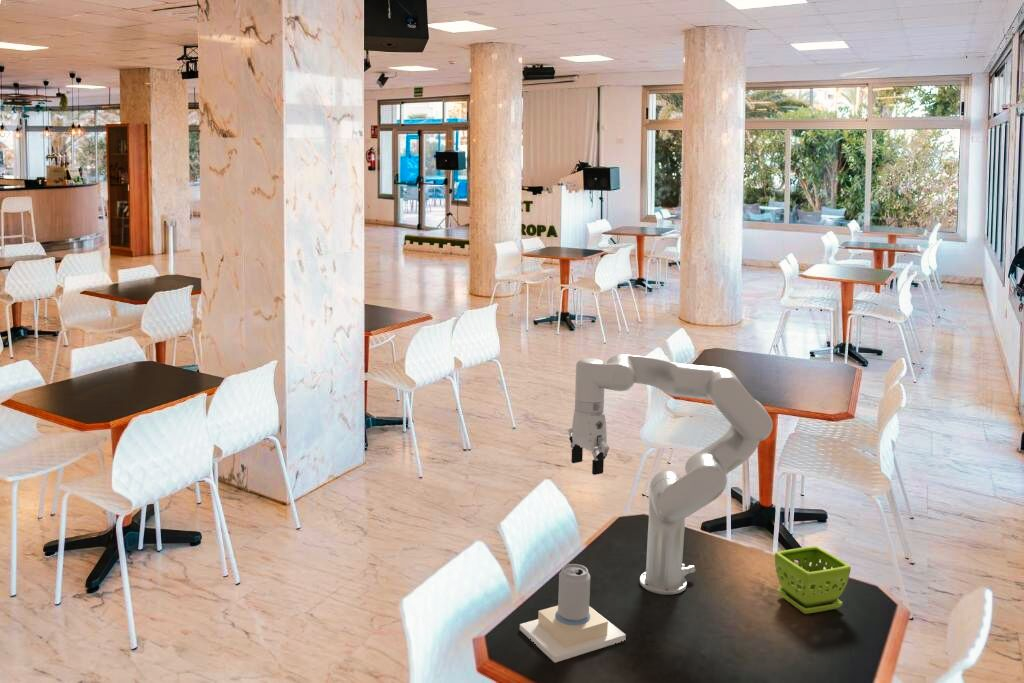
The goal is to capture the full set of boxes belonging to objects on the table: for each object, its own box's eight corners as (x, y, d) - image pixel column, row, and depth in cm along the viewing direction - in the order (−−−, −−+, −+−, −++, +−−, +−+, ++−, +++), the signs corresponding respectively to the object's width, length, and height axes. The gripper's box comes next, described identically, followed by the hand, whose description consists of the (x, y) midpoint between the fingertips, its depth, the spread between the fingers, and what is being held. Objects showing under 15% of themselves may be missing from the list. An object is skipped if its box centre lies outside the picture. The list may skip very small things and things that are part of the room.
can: (586, 625, 206) (588, 578, 203) (555, 620, 207) (556, 574, 205) (590, 609, 213) (592, 563, 210) (560, 605, 214) (561, 560, 212)
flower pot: (848, 612, 224) (853, 566, 221) (803, 621, 219) (807, 574, 216) (812, 587, 237) (816, 543, 234) (769, 595, 232) (773, 550, 229)
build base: (587, 610, 223) (588, 591, 221) (625, 640, 209) (626, 620, 208) (519, 629, 213) (520, 610, 212) (554, 662, 199) (555, 642, 198)
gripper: (620, 412, 222) (617, 476, 226) (582, 396, 237) (580, 456, 241) (596, 416, 219) (593, 481, 222) (559, 399, 234) (557, 460, 237)
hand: (587, 467), depth 232 cm, fingers open, 9 cm apart
